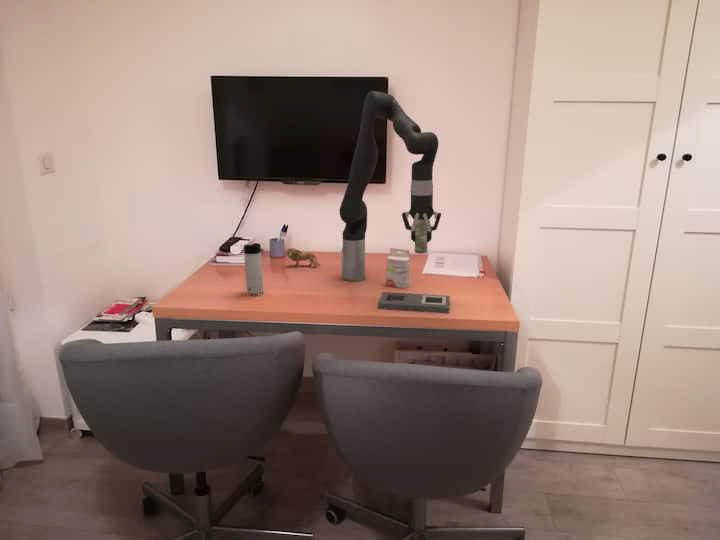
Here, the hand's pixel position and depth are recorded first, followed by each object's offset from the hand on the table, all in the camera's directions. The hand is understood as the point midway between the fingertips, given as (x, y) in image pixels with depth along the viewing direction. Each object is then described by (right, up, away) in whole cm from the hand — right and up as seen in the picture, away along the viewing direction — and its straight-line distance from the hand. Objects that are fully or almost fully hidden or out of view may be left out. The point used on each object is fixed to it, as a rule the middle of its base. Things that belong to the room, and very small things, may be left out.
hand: (421, 241), depth 186 cm
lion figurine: (-47, -9, +52) cm, 71 cm away
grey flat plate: (-2, -23, +8) cm, 24 cm away
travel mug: (-62, -19, +19) cm, 68 cm away
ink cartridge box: (-6, -16, +28) cm, 33 cm away
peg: (0, -4, +1) cm, 4 cm away
